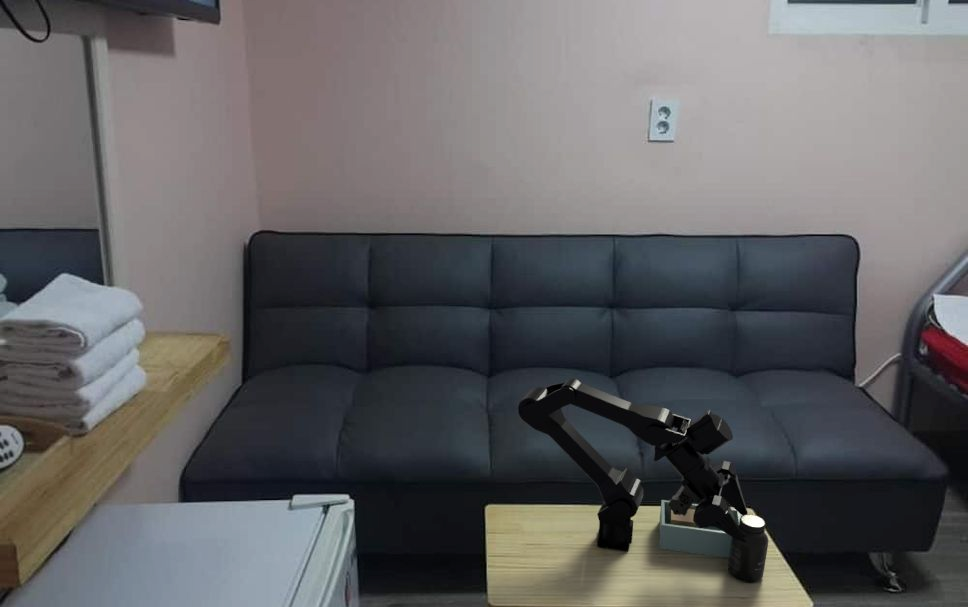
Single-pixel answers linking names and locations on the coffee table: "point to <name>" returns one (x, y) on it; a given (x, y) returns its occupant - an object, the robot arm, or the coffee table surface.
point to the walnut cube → (683, 519)
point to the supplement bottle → (749, 550)
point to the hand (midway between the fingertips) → (743, 526)
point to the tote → (693, 535)
